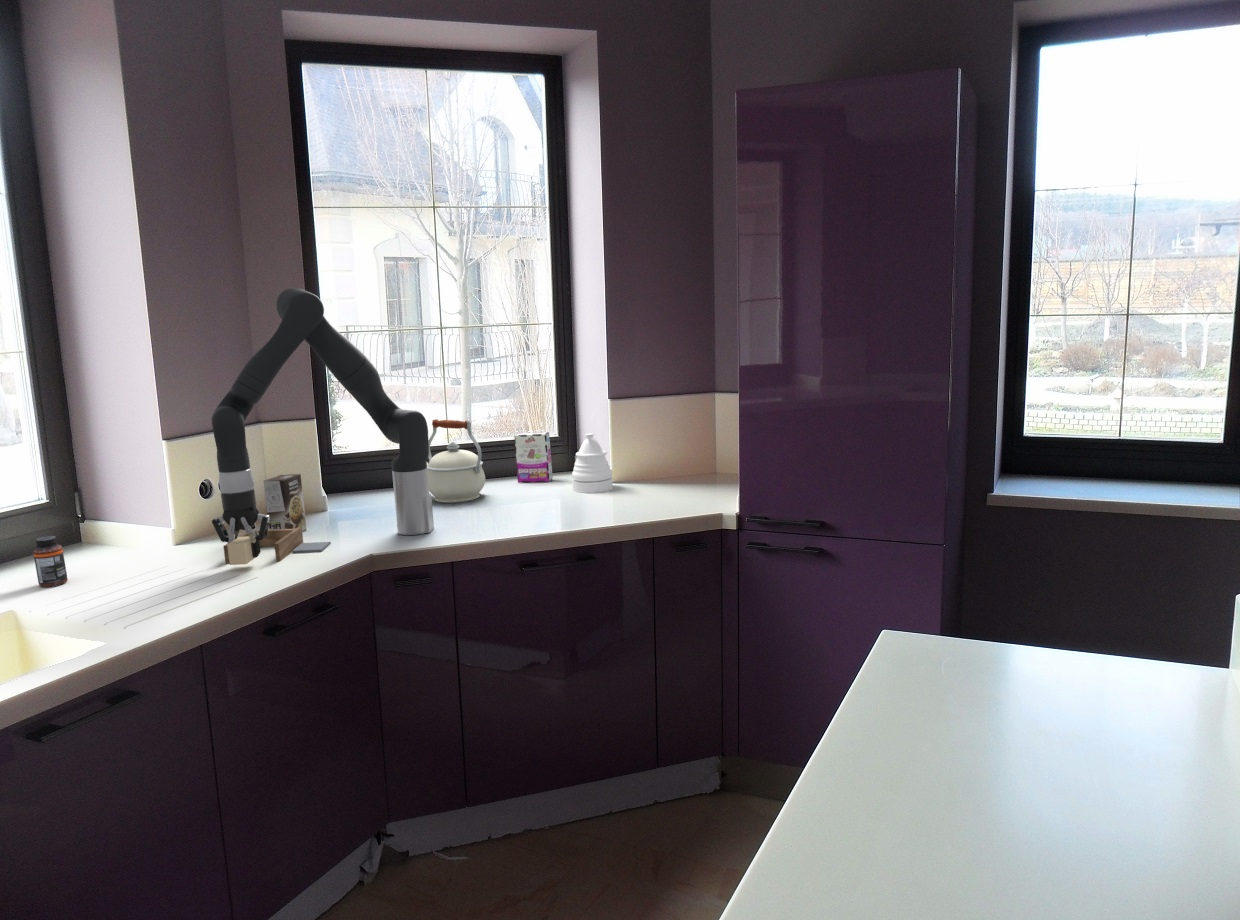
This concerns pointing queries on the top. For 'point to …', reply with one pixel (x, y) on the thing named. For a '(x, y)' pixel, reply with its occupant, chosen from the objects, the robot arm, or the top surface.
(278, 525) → the coffee box
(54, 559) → the supplement bottle
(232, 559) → the block
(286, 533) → the shelf bay
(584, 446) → the honey pot
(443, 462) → the kettle
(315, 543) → the slate pad
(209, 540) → the top surface
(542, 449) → the candy bar box
